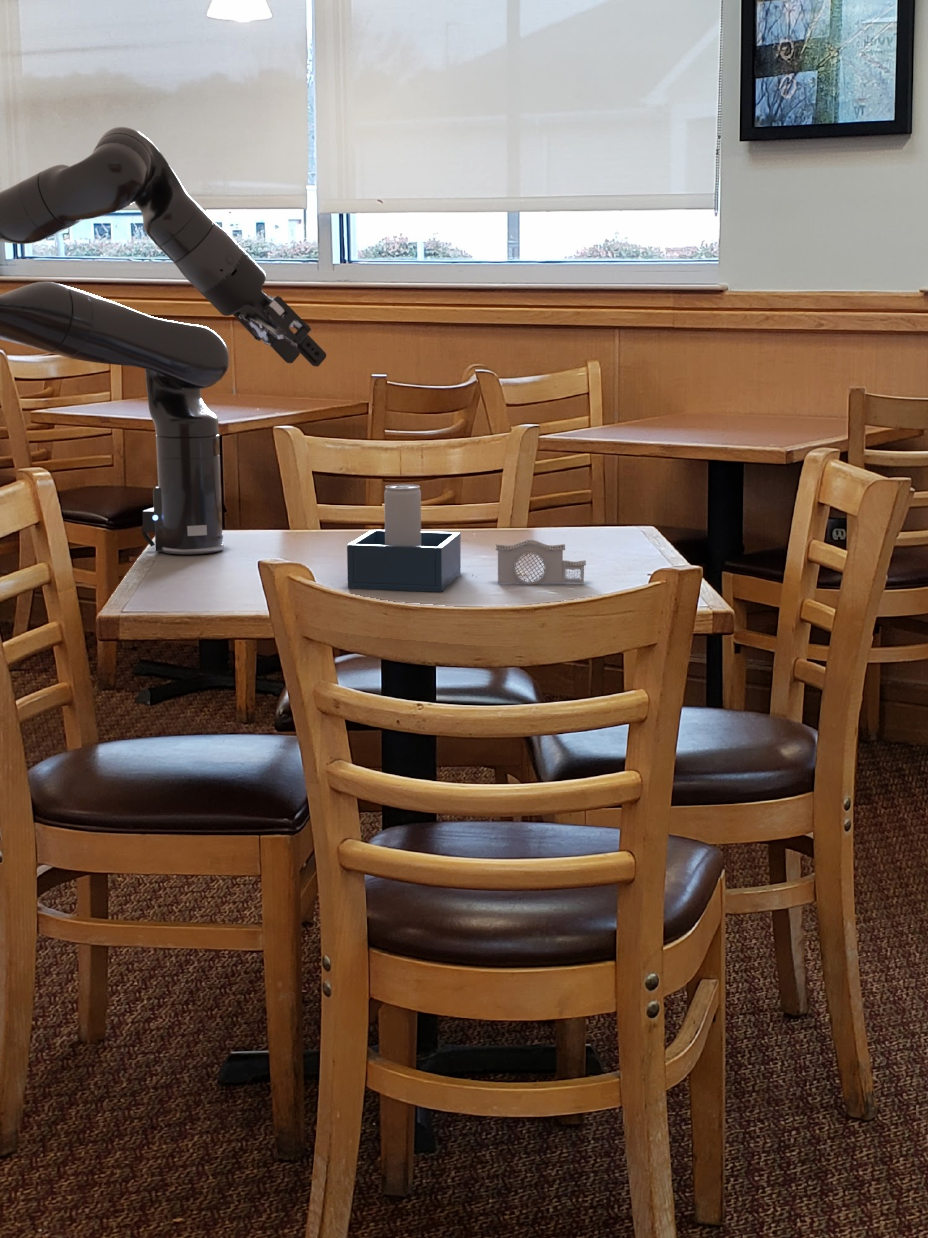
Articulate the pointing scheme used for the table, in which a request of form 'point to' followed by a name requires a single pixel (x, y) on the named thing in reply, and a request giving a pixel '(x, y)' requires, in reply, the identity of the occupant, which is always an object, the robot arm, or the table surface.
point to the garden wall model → (547, 553)
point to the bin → (404, 562)
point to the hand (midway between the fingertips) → (307, 360)
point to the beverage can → (402, 515)
